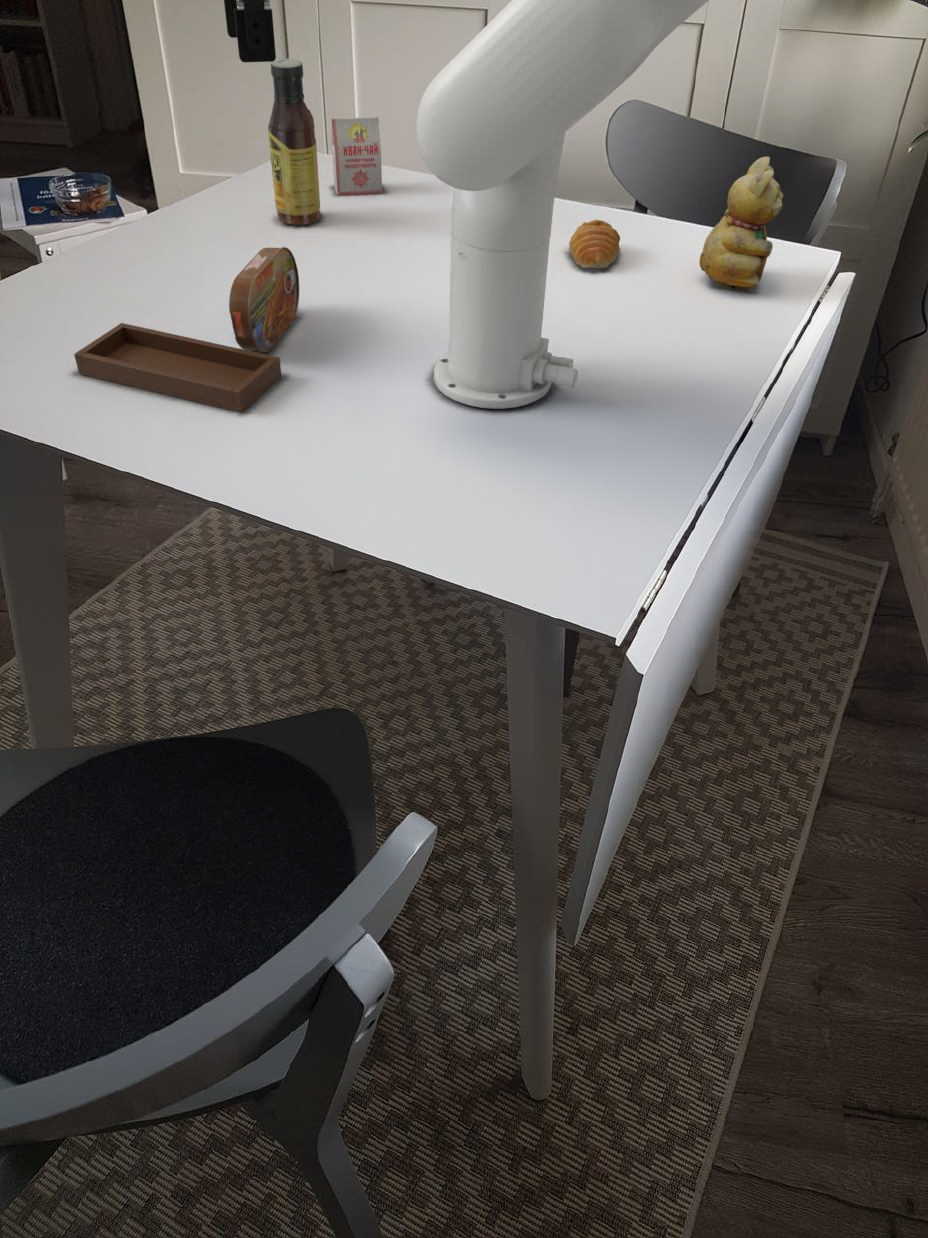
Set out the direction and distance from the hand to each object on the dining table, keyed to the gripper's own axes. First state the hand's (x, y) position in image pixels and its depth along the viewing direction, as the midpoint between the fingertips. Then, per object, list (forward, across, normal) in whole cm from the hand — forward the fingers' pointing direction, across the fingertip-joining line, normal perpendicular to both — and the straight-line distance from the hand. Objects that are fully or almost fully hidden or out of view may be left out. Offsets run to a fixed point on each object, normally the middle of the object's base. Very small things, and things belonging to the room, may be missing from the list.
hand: (251, 48), depth 89 cm
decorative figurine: (+28, +2, -58) cm, 65 cm away
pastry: (+29, +14, -44) cm, 55 cm away
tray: (+29, -7, +11) cm, 32 cm away
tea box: (+29, +46, -19) cm, 58 cm away
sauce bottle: (+29, +36, -8) cm, 46 cm away
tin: (+29, +1, +1) cm, 29 cm away
